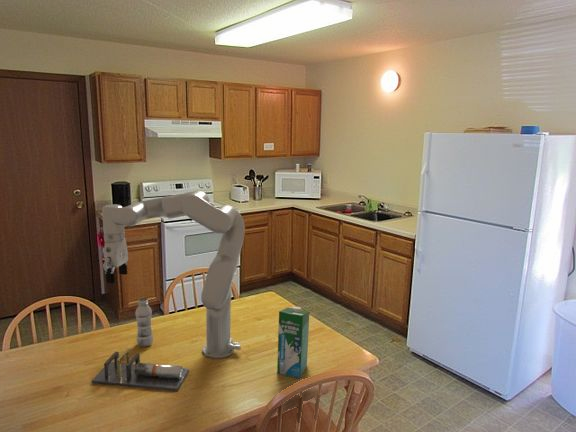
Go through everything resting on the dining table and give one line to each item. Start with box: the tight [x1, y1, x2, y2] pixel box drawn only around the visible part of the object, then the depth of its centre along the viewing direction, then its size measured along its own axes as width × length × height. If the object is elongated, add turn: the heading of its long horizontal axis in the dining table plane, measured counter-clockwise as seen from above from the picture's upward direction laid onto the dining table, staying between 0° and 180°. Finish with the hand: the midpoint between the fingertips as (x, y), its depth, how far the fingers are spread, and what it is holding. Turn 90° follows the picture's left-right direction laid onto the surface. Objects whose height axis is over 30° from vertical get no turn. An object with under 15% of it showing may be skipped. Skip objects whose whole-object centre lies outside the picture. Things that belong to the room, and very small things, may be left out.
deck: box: [91, 361, 190, 392], centre depth 151 cm, size 31×12×1 cm, turn 85°
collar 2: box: [126, 352, 141, 380], centre depth 150 cm, size 1×8×6 cm, turn 174°
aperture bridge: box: [117, 348, 131, 379], centre depth 151 cm, size 1×8×8 cm, turn 174°
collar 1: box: [103, 351, 120, 378], centre depth 151 cm, size 1×8×6 cm, turn 175°
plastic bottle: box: [135, 297, 154, 348], centre depth 171 cm, size 6×7×20 cm
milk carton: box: [276, 306, 310, 379], centre depth 157 cm, size 9×9×25 cm
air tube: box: [135, 362, 184, 378], centre depth 150 cm, size 16×4×4 cm, turn 85°
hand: (117, 278), depth 165 cm, fingers open, 9 cm apart
